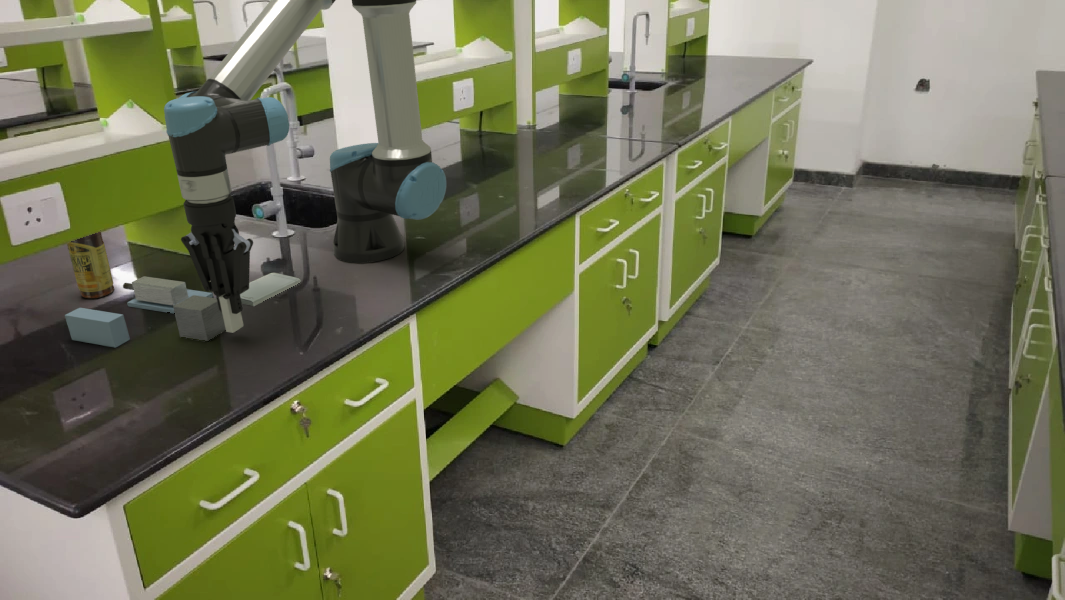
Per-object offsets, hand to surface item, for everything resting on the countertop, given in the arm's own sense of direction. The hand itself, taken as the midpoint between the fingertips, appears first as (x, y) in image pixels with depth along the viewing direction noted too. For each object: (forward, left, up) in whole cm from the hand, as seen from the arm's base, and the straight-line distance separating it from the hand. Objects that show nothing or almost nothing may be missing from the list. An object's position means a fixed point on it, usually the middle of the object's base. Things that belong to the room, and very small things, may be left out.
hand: (234, 328), depth 139 cm
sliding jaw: (+25, -7, -1) cm, 26 cm away
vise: (+23, -2, -2) cm, 23 cm away
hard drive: (+9, -19, -3) cm, 21 cm away
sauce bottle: (+40, -8, -2) cm, 41 cm away
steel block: (+7, 0, -2) cm, 7 cm away
